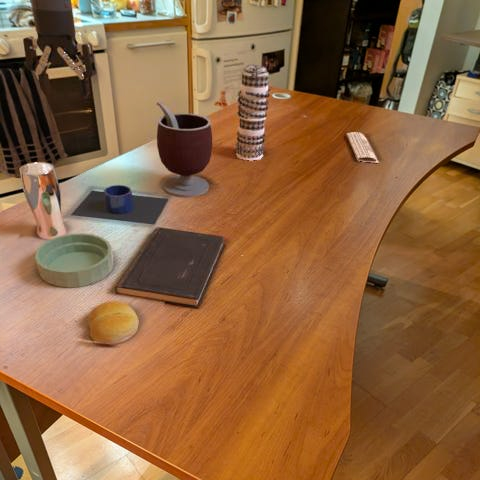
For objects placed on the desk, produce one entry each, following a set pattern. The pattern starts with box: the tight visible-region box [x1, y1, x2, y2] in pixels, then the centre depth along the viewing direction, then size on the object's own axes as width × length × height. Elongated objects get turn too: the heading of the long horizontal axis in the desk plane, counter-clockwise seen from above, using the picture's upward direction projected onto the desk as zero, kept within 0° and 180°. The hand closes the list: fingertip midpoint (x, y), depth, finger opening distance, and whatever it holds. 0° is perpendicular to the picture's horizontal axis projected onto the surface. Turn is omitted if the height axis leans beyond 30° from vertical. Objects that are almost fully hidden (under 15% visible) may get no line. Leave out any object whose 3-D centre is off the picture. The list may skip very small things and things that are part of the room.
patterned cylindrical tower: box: [235, 64, 271, 162], centre depth 136 cm, size 9×9×25 cm
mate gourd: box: [156, 101, 213, 198], centre depth 118 cm, size 16×14×20 cm
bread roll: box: [87, 300, 140, 345], centre depth 78 cm, size 8×9×4 cm
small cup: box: [103, 184, 133, 214], centre depth 110 cm, size 6×6×5 cm
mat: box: [70, 190, 169, 225], centre depth 112 cm, size 20×16×1 cm
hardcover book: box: [114, 226, 226, 309], centre depth 93 cm, size 16×23×2 cm
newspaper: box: [346, 131, 380, 164], centre depth 153 cm, size 24×7×2 cm, turn 178°
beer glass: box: [19, 161, 67, 240], centre depth 97 cm, size 7×7×15 cm
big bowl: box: [34, 232, 114, 289], centre depth 91 cm, size 14×14×4 cm
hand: (65, 95), depth 100 cm, fingers open, 8 cm apart
